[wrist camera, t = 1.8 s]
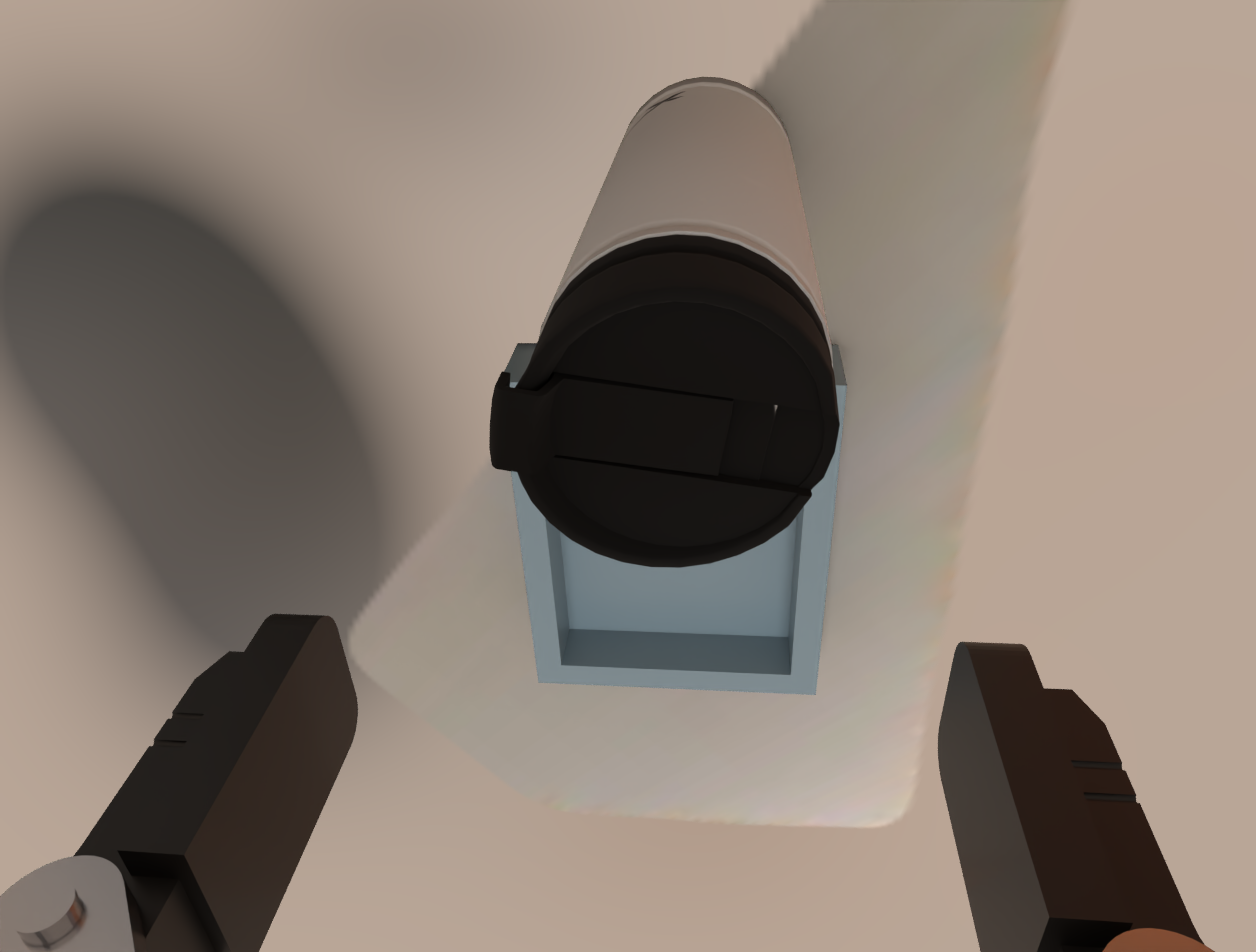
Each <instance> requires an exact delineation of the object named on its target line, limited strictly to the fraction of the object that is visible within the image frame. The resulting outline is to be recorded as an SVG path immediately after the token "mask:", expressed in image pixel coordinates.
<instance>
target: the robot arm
mask: <svg viewBox="0 0 1256 952" xmlns="http://www.w3.org/2000/svg"><path fill="white" fill-rule="evenodd" d="M172 713H173V716H172V718H171V719H168V720H167V721H166V722H165V724H164V725H163V727H162V728H161V730H160V731H159V733H158V734H157V736H156V737H155V739H154V745H153V746H149V747H148V749H147V750H146V752H145V753H144V755H143V756H142V758H141V759H140V760H139V762H138V763H137V765H136V766H135V768H134V769H133V771H132V772H131V774H130V775H129V777H128V778H127V780H126V781H125V783H124V784H123V786H122V787H121V788H120V790H119V791H118V793H117V794H116V796H115V797H114V799H113V800H112V802H111V803H110V804H109V806H108V807H107V809H106V810H105V812H104V813H103V815H102V816H101V818H100V819H99V821H98V822H97V824H96V825H95V827H94V828H93V829H92V831H91V832H90V834H89V836H88V837H87V838H86V840H85V841H84V843H83V844H82V846H81V847H80V848H79V850H78V851H77V852H76V853H75V855H74V856H73V857H68V858H64V859H60V860H57V861H54V862H52V863H49V864H46V865H44V866H42V867H40V868H39V869H36V870H34V871H33V872H31V873H29V874H28V875H26V876H25V877H23V878H21V879H20V880H19V881H17V882H16V883H15V884H14V885H12V886H11V887H10V888H9V889H7V890H6V891H5V892H4V893H3V894H2V895H1V896H0V952H259V950H260V948H261V945H262V943H263V941H264V939H265V936H266V934H267V932H268V930H269V928H270V925H271V923H272V921H273V918H274V916H275V914H276V912H277V910H278V908H279V905H280V903H281V901H282V899H283V896H284V894H285V892H286V889H287V887H288V885H289V883H290V881H291V878H292V876H293V874H294V872H295V870H296V867H297V865H298V863H299V861H300V858H301V856H302V854H303V852H304V849H305V847H306V845H307V843H308V841H309V838H310V836H311V834H312V831H313V829H314V827H315V825H316V823H317V820H318V818H319V816H320V813H321V811H322V809H323V807H324V805H325V803H326V800H327V798H328V796H329V794H330V791H331V789H332V787H333V785H334V782H335V780H336V778H337V775H338V773H339V771H340V769H341V767H342V764H343V762H344V760H345V758H346V755H347V753H348V751H349V749H350V747H351V744H352V742H353V738H354V735H355V731H356V724H357V716H358V704H357V697H356V692H355V689H354V685H353V682H352V679H351V675H350V671H349V668H348V664H347V661H346V657H345V654H344V650H343V646H342V643H341V639H340V636H339V632H338V628H337V626H336V623H335V621H334V620H333V619H332V618H331V617H330V616H322V615H296V614H295V615H294V614H272V615H270V616H269V617H268V618H266V619H265V621H264V622H263V623H262V625H261V626H260V628H259V629H258V631H257V633H256V634H255V636H254V637H253V639H252V641H251V642H250V643H249V645H248V647H247V648H246V650H245V651H244V652H231V651H229V652H228V653H227V654H225V655H224V656H223V657H222V658H220V659H219V660H218V661H217V662H216V663H214V664H213V665H212V666H211V667H209V668H208V669H207V670H206V671H204V672H203V673H202V674H201V675H200V676H199V677H197V678H196V679H195V680H194V681H193V683H192V684H191V686H190V687H189V689H188V690H187V692H186V693H185V694H184V696H183V697H182V699H181V700H180V702H179V703H178V705H177V706H176V708H175V709H174V711H173V712H172ZM938 759H939V769H940V775H941V781H942V785H943V789H944V794H945V798H946V802H947V807H948V811H949V816H950V820H951V824H952V829H953V833H954V837H955V842H956V846H957V850H958V855H959V859H960V864H961V868H962V872H963V877H964V881H965V885H966V890H967V894H968V898H969V902H970V907H971V911H972V916H973V920H974V925H975V929H976V933H977V938H978V942H979V946H980V951H981V952H1215V951H1213V950H1212V949H1210V948H1209V947H1207V946H1206V945H1204V943H1203V942H1202V940H1201V939H1200V937H1199V935H1198V933H1197V931H1196V929H1195V927H1194V925H1193V923H1192V921H1191V919H1190V917H1189V914H1188V912H1187V910H1186V908H1185V905H1184V903H1183V901H1182V899H1181V896H1180V894H1179V892H1178V889H1177V887H1176V885H1175V883H1174V880H1173V878H1172V876H1171V873H1170V871H1169V869H1168V866H1167V864H1166V862H1165V860H1164V858H1163V855H1162V853H1161V851H1160V848H1159V846H1158V844H1157V841H1156V839H1155V837H1154V835H1153V832H1152V830H1151V828H1150V826H1149V823H1148V821H1147V819H1146V816H1145V814H1144V812H1143V810H1142V807H1141V805H1140V803H1137V802H1136V794H1135V791H1134V789H1133V787H1132V785H1131V782H1130V780H1129V778H1128V775H1127V773H1126V771H1124V770H1122V762H1121V759H1120V757H1119V755H1118V753H1117V750H1116V748H1115V746H1114V744H1113V741H1112V739H1111V737H1110V735H1109V732H1108V730H1107V728H1106V725H1105V724H1104V723H1103V721H1101V719H1100V718H1099V717H1098V716H1097V715H1096V714H1095V713H1094V712H1093V711H1092V710H1091V709H1090V708H1089V707H1088V706H1087V705H1086V704H1085V703H1084V702H1083V701H1082V700H1081V699H1080V698H1079V697H1078V695H1077V694H1076V693H1075V692H1074V691H1073V690H1067V689H1044V688H1043V686H1042V683H1041V681H1040V678H1039V675H1038V673H1037V670H1036V668H1035V665H1034V662H1033V660H1032V657H1031V655H1030V652H1029V651H1028V649H1027V647H1026V646H1024V645H1022V644H1003V643H978V642H977V643H976V642H960V643H959V644H958V645H957V647H956V650H955V654H954V658H953V663H952V668H951V672H950V677H949V682H948V687H947V692H946V696H945V701H944V706H943V711H942V716H941V721H940V726H939V733H938Z"/></svg>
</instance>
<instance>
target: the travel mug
mask: <svg viewBox="0 0 1256 952" xmlns="http://www.w3.org/2000/svg"><path fill="white" fill-rule="evenodd" d="M510 375H511V373H509V372H502V373H501V375H500V377H499V379H498V381H497V383H496V385H495V388H494V393H493V398H492V407H491V419H490V455H491V462H492V465H493V467H495V468H496V469H501V470H507V471H513V472H517V473H518V476H519V478H520V481H521V483H522V485H523V487H524V489H525V491H526V492H527V494H528V496H529V498H530V500H531V502H532V503H533V504H534V505H535V506H536V508H537V509H538V510H539V511H540V512H541V513H542V515H543V516H544V517H545V518H546V519H547V521H548V522H549V523H550V524H552V525H553V526H554V527H555V528H557V529H558V530H559V531H560V532H562V533H563V534H564V535H565V536H567V537H568V538H569V539H570V540H572V541H574V542H576V543H578V544H579V545H581V546H583V547H585V548H587V549H589V550H591V551H592V552H594V553H596V554H599V555H602V556H605V557H608V558H611V559H614V560H617V561H620V562H623V563H629V564H635V565H641V566H647V567H673V568H682V567H689V566H696V565H704V564H710V563H714V562H717V561H720V560H724V559H727V558H731V557H734V556H737V555H740V554H742V553H744V552H746V551H748V550H750V549H753V548H755V547H757V546H759V545H761V544H763V543H765V542H767V541H768V540H769V539H771V538H772V537H774V536H775V535H777V534H778V533H780V532H781V531H783V530H784V529H785V528H787V527H788V526H789V525H790V524H791V523H792V521H793V520H794V519H795V517H796V516H797V515H798V514H799V512H800V511H801V510H802V508H803V507H804V506H805V504H806V503H807V502H808V501H809V499H810V498H811V497H812V492H811V490H812V489H813V488H814V487H815V486H816V485H817V484H818V483H819V482H820V481H821V480H822V479H823V478H824V476H825V474H826V472H827V469H828V467H829V465H830V462H831V460H832V458H833V455H834V453H835V449H836V443H837V438H838V433H839V427H840V422H839V412H838V403H837V393H836V384H835V375H834V370H833V358H832V345H831V340H830V337H829V330H828V326H827V321H826V316H825V311H824V306H823V301H822V296H821V291H820V286H819V282H818V277H817V272H816V267H815V262H814V257H813V252H812V247H811V242H810V238H809V233H808V228H807V223H806V218H805V213H804V208H803V203H802V198H801V194H800V189H799V184H798V179H797V174H796V169H795V164H794V160H793V154H792V150H791V146H790V142H789V138H788V135H787V131H786V129H785V127H784V125H783V123H782V121H781V119H780V117H779V116H778V114H777V113H776V112H775V111H774V109H773V108H772V107H771V106H770V104H769V103H768V102H767V101H766V100H765V99H763V98H762V97H761V96H760V95H759V94H757V93H756V92H755V91H753V90H752V89H750V88H748V87H746V86H744V85H742V84H740V83H737V82H734V81H731V80H726V79H723V78H715V77H699V78H692V79H686V80H683V81H681V82H678V83H675V84H673V85H670V86H668V87H666V88H664V89H663V90H661V91H660V92H658V93H657V94H655V95H653V96H652V97H651V98H650V99H649V100H648V101H647V102H646V103H645V104H644V105H643V106H642V107H641V108H640V109H639V111H638V112H637V114H636V115H635V116H634V118H633V119H632V121H631V122H630V124H629V126H628V129H627V131H626V133H625V135H624V138H623V140H622V143H621V145H620V147H619V150H618V152H617V154H616V157H615V158H614V161H613V163H612V165H611V168H610V170H609V172H608V175H607V177H606V179H605V181H604V184H603V186H602V188H601V191H600V193H599V195H598V198H597V200H596V203H595V205H594V207H593V209H592V211H591V214H590V216H589V218H588V220H587V223H586V225H585V227H584V230H583V232H582V234H581V237H580V239H579V241H578V243H577V246H576V248H575V251H574V253H573V255H572V257H571V260H570V262H569V264H568V267H567V269H566V271H565V274H564V276H563V278H562V281H561V283H560V285H559V287H558V289H557V292H556V294H555V296H554V299H553V301H552V303H551V306H550V308H549V310H548V312H547V315H546V317H545V319H544V322H543V324H542V326H541V331H540V336H539V341H538V343H537V345H536V347H535V349H534V352H533V354H532V356H531V360H530V362H529V364H528V367H527V369H526V371H525V372H524V374H523V375H522V377H521V379H520V380H519V382H518V383H517V385H516V386H515V388H513V387H510Z"/></svg>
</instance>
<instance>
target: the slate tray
mask: <svg viewBox="0 0 1256 952" xmlns="http://www.w3.org/2000/svg"><path fill="white" fill-rule="evenodd" d="M536 345H537V343H534V344H533V343H518V344H517V346H516V348H515V350H514V352H513V354H512V357H511V359H510V361H509V363H508V365H507V367H506V369H505V371H504V372H509V373H511V375H510V387H513V388H515V386H516V385H517V383H518V382H519V380H520V379H521V377H522V375H523V374H524V372H525V371H526V369H527V367H528V364H529V362H530V360H531V356H532V354H533V352H534V349H535V347H536ZM832 358H833V370H834V375H835V384H836V393H837V403H838V412H839V422H840V427H839V433H838V438H837V443H836V449H835V453H834V455H833V458H832V460H831V462H830V465H829V467H828V469H827V472H826V474H825V476H824V478H823V479H822V480H821V481H820V482H819V483H818V484H817V485H816V486H815V487H814V488H813V489H812V490H811V492H812V497H811V498H810V499H809V501H808V502H807V503H806V504H805V506H804V507H803V508H802V510H801V511H800V512H799V514H798V515H797V516H796V517H795V519H794V520H793V521H792V523H791V524H790V525H789V526H788V527H787V528H785V529H784V530H783V531H781V532H780V533H778V534H777V535H775V536H774V537H772V538H771V539H769V540H768V541H767V542H765V543H763V544H761V545H759V546H757V547H755V548H753V549H750V550H748V551H746V552H744V553H742V554H740V555H737V556H734V557H731V558H727V559H724V560H720V561H717V562H714V563H710V564H704V565H696V566H689V567H682V568H673V567H647V566H641V565H635V564H629V563H623V562H620V561H617V560H614V559H611V558H608V557H605V556H602V555H599V554H596V553H594V552H592V551H591V550H589V549H587V548H585V547H583V546H581V545H579V544H578V543H576V542H574V541H572V540H570V539H569V538H568V537H567V536H565V535H564V534H563V533H562V532H560V531H559V530H558V529H557V528H555V527H554V526H553V525H552V524H550V523H549V522H548V521H547V519H546V518H545V517H544V516H543V515H542V513H541V512H540V511H539V510H538V509H537V508H536V506H535V505H534V504H533V503H532V502H531V500H530V498H529V496H528V494H527V492H526V491H525V489H524V487H523V485H522V483H521V481H520V478H519V476H518V473H517V472H513V471H511V475H512V483H513V490H514V498H515V506H516V513H517V521H518V529H519V536H520V544H521V552H522V560H523V567H524V575H525V583H526V590H527V598H528V606H529V613H530V621H531V629H532V636H533V644H534V652H535V659H536V667H537V675H538V682H539V683H559V684H582V685H604V686H626V687H649V688H671V689H694V690H716V691H739V692H761V693H784V694H806V695H816V687H817V677H818V667H819V657H820V647H821V637H822V627H823V618H824V608H825V598H826V588H827V578H828V568H829V558H830V548H831V538H832V528H833V518H834V508H835V499H836V489H837V479H838V469H839V459H840V449H841V439H842V429H843V419H844V409H845V399H846V390H847V384H846V379H845V375H844V370H843V365H842V361H841V356H840V352H839V347H838V345H832Z"/></svg>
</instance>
